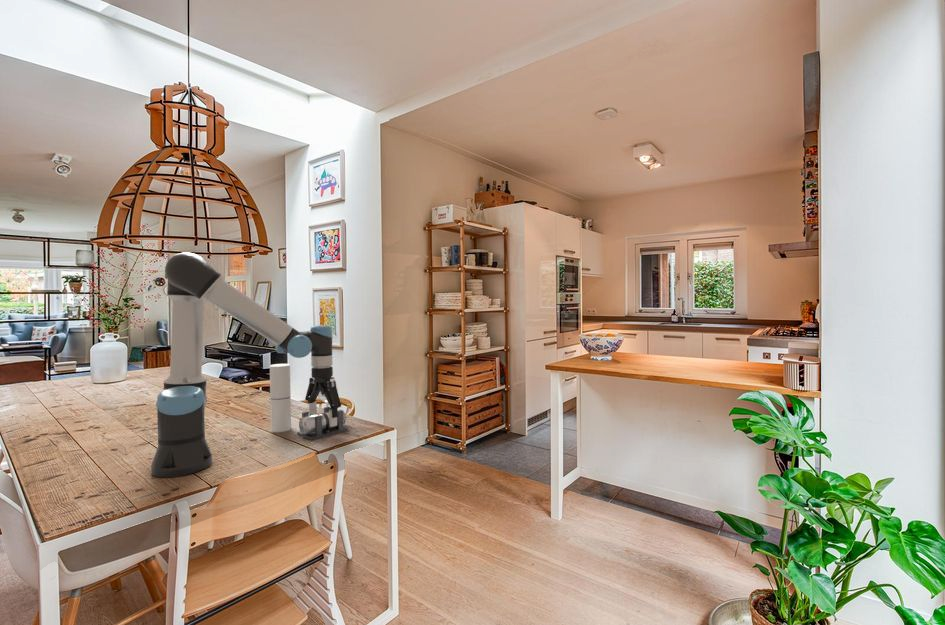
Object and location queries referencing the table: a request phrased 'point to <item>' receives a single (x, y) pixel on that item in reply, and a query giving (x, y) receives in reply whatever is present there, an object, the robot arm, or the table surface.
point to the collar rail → (318, 426)
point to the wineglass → (322, 396)
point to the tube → (309, 422)
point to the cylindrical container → (280, 397)
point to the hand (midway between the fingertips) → (322, 422)
